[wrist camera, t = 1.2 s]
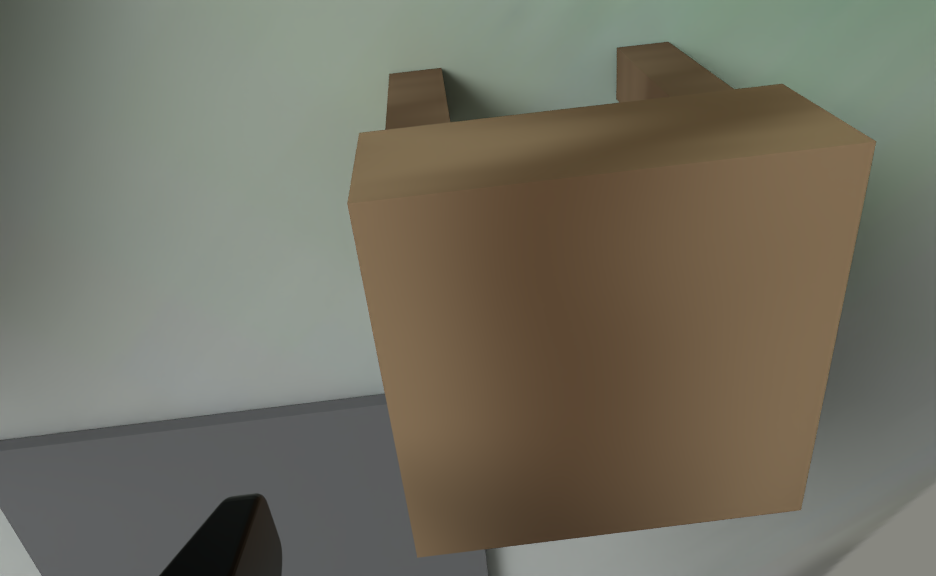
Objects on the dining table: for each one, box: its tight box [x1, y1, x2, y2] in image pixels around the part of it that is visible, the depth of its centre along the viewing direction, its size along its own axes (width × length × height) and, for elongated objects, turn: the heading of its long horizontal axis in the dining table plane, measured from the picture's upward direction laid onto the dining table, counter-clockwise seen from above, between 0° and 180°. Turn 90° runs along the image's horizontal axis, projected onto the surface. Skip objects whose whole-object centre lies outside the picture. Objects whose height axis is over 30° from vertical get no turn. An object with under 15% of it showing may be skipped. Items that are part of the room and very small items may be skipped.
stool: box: [347, 42, 876, 558], centre depth 13 cm, size 6×6×7 cm
